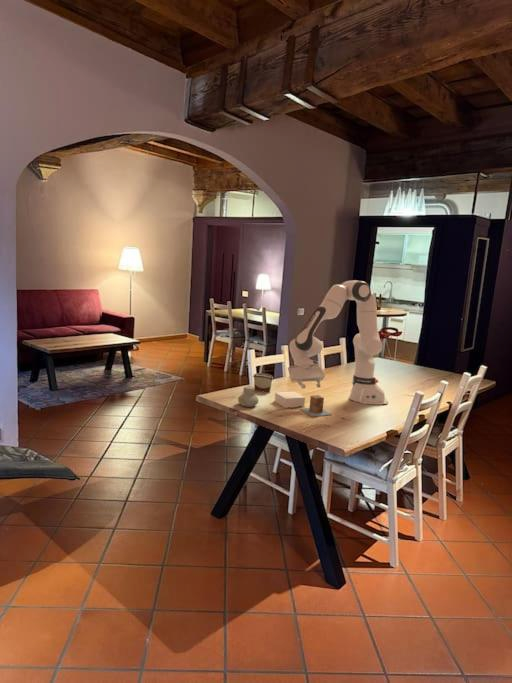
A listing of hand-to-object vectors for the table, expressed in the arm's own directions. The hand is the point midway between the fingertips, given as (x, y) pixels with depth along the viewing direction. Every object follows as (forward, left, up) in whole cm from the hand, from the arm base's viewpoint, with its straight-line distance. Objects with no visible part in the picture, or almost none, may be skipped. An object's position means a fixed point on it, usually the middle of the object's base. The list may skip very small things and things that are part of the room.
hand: (311, 387), depth 248 cm
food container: (+27, -27, -12) cm, 40 cm away
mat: (-3, +6, -12) cm, 13 cm away
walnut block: (-3, +6, -11) cm, 13 cm away
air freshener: (+33, +5, -12) cm, 35 cm away
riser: (+11, -5, -12) cm, 17 cm away
